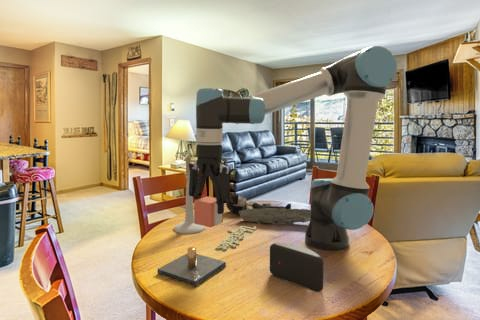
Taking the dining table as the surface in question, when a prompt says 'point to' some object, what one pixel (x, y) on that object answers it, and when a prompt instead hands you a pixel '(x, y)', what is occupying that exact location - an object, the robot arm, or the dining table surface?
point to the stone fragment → (276, 215)
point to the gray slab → (191, 268)
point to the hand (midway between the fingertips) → (208, 221)
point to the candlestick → (188, 210)
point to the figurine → (247, 204)
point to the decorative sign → (236, 235)
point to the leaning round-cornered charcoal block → (297, 265)
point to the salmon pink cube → (204, 211)
